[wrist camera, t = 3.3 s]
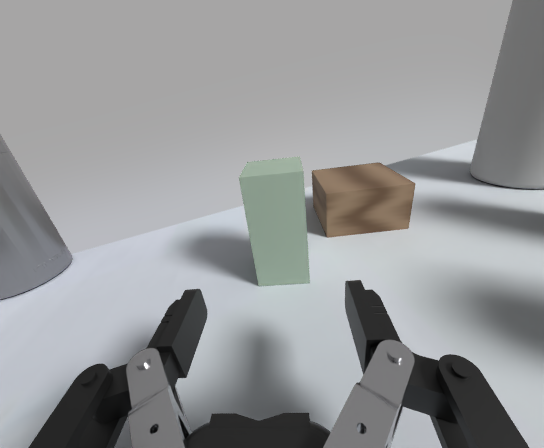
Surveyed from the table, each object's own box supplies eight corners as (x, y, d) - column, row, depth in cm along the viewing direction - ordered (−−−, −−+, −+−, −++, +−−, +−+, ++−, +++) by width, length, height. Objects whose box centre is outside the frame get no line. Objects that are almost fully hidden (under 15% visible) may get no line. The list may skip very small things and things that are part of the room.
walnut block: (327, 239, 31) (326, 193, 28) (313, 207, 40) (311, 170, 37) (408, 229, 31) (415, 183, 28) (376, 200, 39) (379, 162, 37)
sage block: (258, 286, 24) (238, 177, 19) (262, 256, 29) (247, 162, 24) (309, 283, 24) (303, 171, 19) (305, 253, 28) (299, 156, 23)
